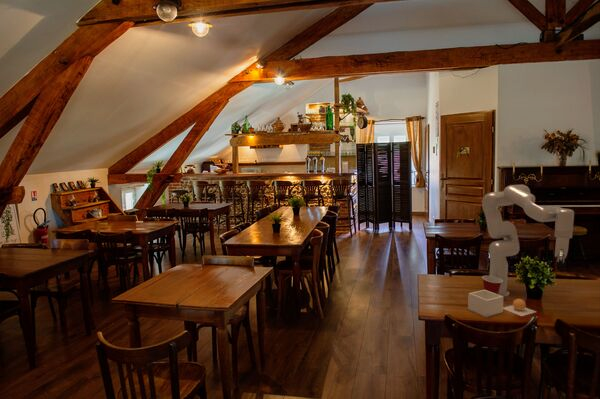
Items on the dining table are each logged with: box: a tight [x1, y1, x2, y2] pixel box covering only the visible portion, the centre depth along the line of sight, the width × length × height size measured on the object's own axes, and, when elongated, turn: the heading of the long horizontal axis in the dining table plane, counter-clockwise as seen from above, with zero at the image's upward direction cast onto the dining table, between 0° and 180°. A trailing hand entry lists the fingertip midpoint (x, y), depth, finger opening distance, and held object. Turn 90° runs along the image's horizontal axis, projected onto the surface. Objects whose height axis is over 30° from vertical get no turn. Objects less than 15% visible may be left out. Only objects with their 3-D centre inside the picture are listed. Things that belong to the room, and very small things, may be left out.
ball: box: [512, 298, 527, 310], centre depth 226 cm, size 6×6×6 cm
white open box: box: [467, 289, 505, 318], centre depth 226 cm, size 12×12×9 cm
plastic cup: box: [481, 275, 503, 294], centre depth 244 cm, size 11×11×12 cm
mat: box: [503, 304, 537, 317], centre depth 227 cm, size 12×12×1 cm
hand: (560, 267), depth 213 cm, fingers open, 9 cm apart
